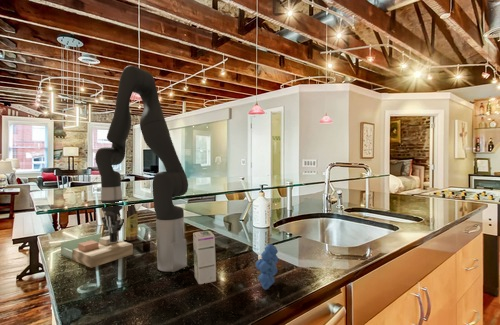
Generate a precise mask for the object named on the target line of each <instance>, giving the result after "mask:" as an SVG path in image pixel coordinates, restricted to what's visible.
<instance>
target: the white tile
mask: <svg viewBox="0 0 500 325" xmlns="http://www.w3.org/2000/svg"><path fill="white" fill-rule="evenodd" d="M118 240H119V236H117V241H116V242H118ZM99 243H101V244H104V245H108V244H112V243H115V242H110V235H107V236H102V237H101V238H99Z"/></svg>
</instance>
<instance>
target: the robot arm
mask: <svg viewBox="0 0 500 325" xmlns="http://www.w3.org/2000/svg"><path fill="white" fill-rule="evenodd" d="M133 93H134V94H138V95H139V96H140V99H141V101H142V104H143V111H142V114H141V116H140V122H139V128H140V131H141V134H142V138H143V140H144V143H145V145H146V146H147V148H149V149H150V151H152V152H153V153H154V154H155V156H157V157H158V159H160V161H161V162H162V164H163V166H164V169H165V171H159V172H157V173H155V174H154V176H153V179H152V186H151V187H152V188H151V189H152V199H153V209H154V212H155V221H156V223H155V225H156V226H155V227H156V230H155V231H156V255H157V256H156V258H157V260H156V261H157V263H156V264H157V270H159V271H161V272H172V273H174V272H177V271H179V270H182V269H183V268H186V267H188V256H187V252H188V250H187V247H188V246H187V239H186V238H185V215H184V214H185V213H184V209H183V207H181V206H176V205H175V204H174V203H173V198H177V197H182V196H184V195H186V193H188V190H189V181H188V178H187V174H186V172H185V170H184V168H183V165H182V163H181V160H180V159H179V157H178V154H177V151H176V149H175V146H174V143H173V140H172V137H171V133H170V130H169V127H168V124H167V121H166V118H165V115H164V113H163V110H162V106H161V102H160V98H159V94H158V88H157V85H156V81H155V78H154V76H153V74H151V73H150V72H149V71H148V70H145V69H142V68H140V67H137V66H135V65H127V66H126V67H124V68H123V70H122V72H121V75H120V78H119V82H118V88H117V94H116V101H115V106H114V112H113V117H112V119H111V123H110V125H109V127H108V131H107V134H106V139H107V141H108V142H110V143H111V147H109V146H108V147H106V146H105V147H100V148H98V149H97V150H96V152H95V163H96V167H97V170H98V172H99V176H100V185H101V187H100V188H101V189H100V203H101V202H102V203H115V202H119V201H122V202H123V191H122V189H123V188H122V179H121V178H122V177H121V176H122V175H121V173H120V171H115V170H114V167H113V166H117V165H120V164H122V162H124V159H125V157H126V149H127V148H126V147H127V139H128V136H129V134H130V130H131V129H132V128H131V127H132V115H131V108H130V102H131V97H132V95H133ZM123 208H124V207H123V206H113V207H108V208H101V211H102V212H104V216H102V217H101V221H102V223H103V226H104V228H105V231H108V233H109V236H110V242H116V241H117V237H118V232H120V231H121V230H122V229H123V223H124V219H123V218H122V217H121V212H120V211H121V210H122V209H123Z"/></svg>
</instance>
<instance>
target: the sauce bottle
mask: <svg viewBox="0 0 500 325" xmlns="http://www.w3.org/2000/svg"><path fill="white" fill-rule="evenodd" d="M138 225H139V224H138V211H137V209H136V206H135V204H134V205H131V206H128V211H127V227H126V240H127V241H126V242H129V241H135V240H137V239H138V236H139V233H138V232H139V230H138Z"/></svg>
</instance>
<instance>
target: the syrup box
mask: <svg viewBox="0 0 500 325" xmlns="http://www.w3.org/2000/svg"><path fill="white" fill-rule="evenodd" d="M192 235H193V236H192V239H193V240H192V242H193V246H192V247H193V264H194V265H193V266H194V268H193V269H194V279H195V280H196V282H197V284H198V285H203V284H204V283H205V284H208V283H213V282H217V263H216V242H215V240H216V237H215V234H214V233H213V232H212V231H211V230H202V231H196V232H193V233H192Z"/></svg>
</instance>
